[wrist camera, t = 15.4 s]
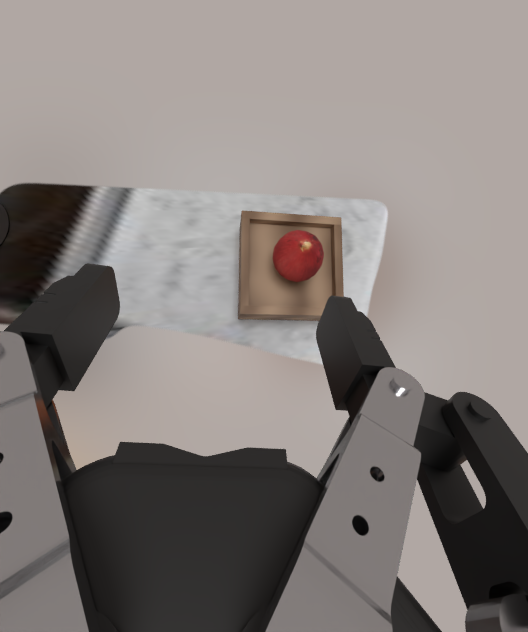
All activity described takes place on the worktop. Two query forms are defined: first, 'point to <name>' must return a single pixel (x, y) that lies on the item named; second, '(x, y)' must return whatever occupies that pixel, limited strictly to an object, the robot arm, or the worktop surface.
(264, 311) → the brown wooden box
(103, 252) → the worktop surface
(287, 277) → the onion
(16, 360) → the robot arm
